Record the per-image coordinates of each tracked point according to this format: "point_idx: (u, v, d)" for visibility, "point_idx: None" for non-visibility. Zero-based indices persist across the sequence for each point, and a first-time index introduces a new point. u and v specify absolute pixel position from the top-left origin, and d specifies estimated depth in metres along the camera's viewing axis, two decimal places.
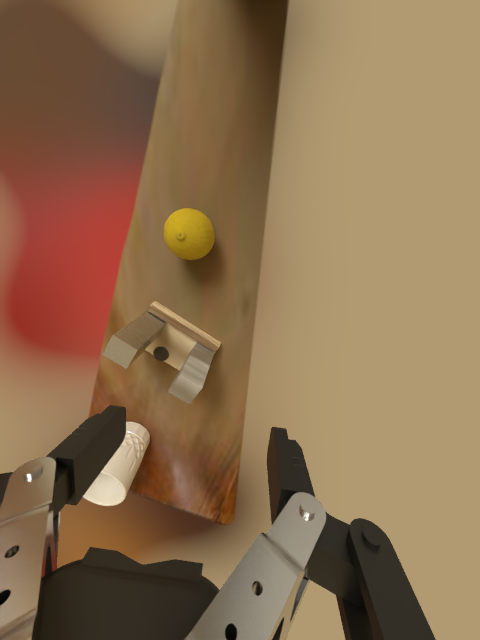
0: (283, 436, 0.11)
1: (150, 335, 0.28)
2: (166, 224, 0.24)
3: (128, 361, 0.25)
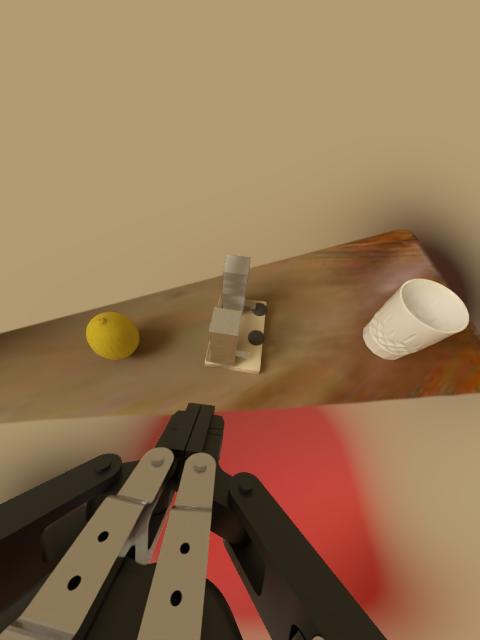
0: (208, 411, 0.12)
1: None
2: (98, 343, 0.26)
3: (232, 311, 0.24)
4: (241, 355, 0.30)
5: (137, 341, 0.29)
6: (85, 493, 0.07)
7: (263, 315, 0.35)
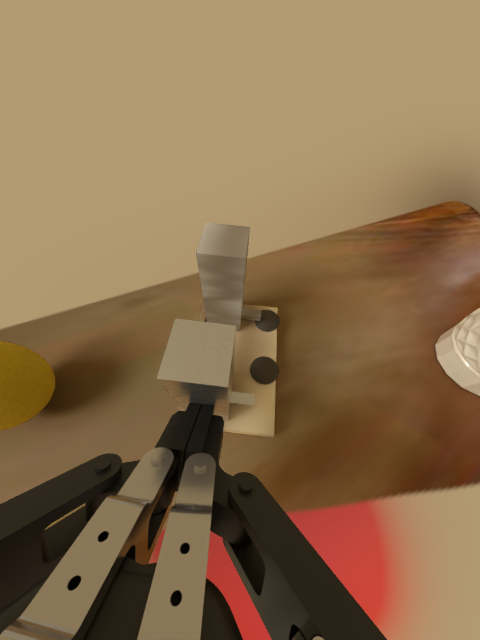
0: (208, 411, 0.12)
1: None
2: None
3: (214, 326, 0.11)
4: (240, 401, 0.17)
5: (44, 392, 0.16)
6: (85, 493, 0.07)
7: (274, 330, 0.21)
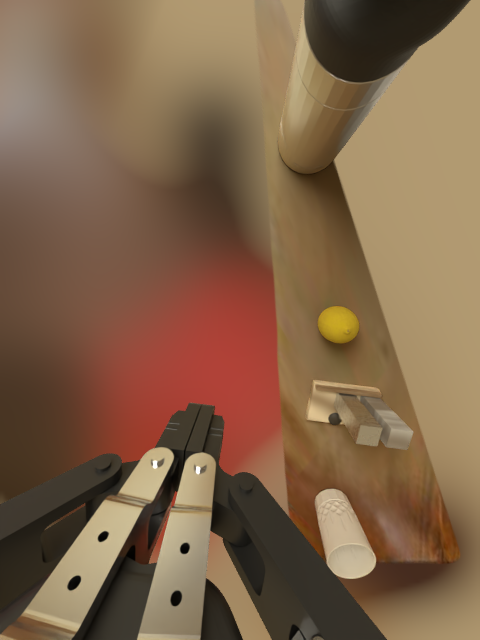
0: (208, 411, 0.12)
1: (368, 412, 0.35)
2: (328, 327, 0.33)
3: (377, 440, 0.32)
4: None
5: None
6: (85, 493, 0.07)
7: None
